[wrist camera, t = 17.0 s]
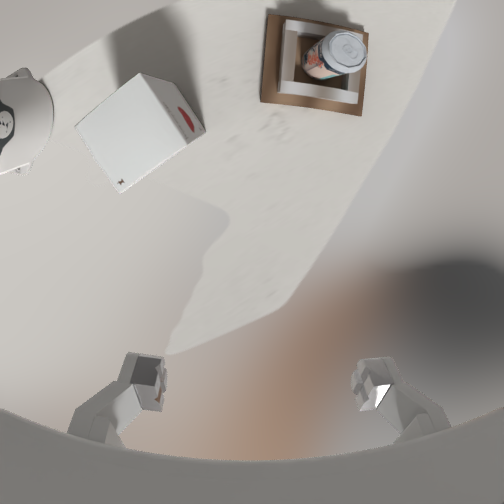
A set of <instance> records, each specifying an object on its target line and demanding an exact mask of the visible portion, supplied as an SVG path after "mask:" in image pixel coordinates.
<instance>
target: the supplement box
mask: <svg viewBox="0 0 504 504" xmlns="http://www.w3.org/2000/svg"><path fill="white" fill-rule="evenodd" d="M75 129H76V131H77V133H78V134H79V136H80V137H81V139H82V140H83V142H84V143H85V145H86V146H87V148H88V150H89V151H90V153H91V154H92V157H93V159H94V160H95V162H96V163H97V164H98V165H99V166H100V168H101V169H102V171H103V172H104V173H105V175H106V176H107V178H108V179H109V181H110V182H111V184H112V185H113V187H114V188H115V189H116V191H117V192H118V193H119V194H121V193H122V192H124V191H125V190H127V189H128V188H129V187H131V186H132V185H134V184H135V183H137V182H138V181H139V180H141V179H142V178H144V177H145V176H147V175H148V174H149V173H151V172H152V171H154V170H155V169H156V168H158V167H159V166H161V165H162V164H164V163H165V162H166V161H168V160H169V159H171V158H172V157H174V156H175V155H176V154H178V153H179V152H181V151H182V150H183V149H185V148H186V147H187V146H189V145H190V144H192V143H193V142H194V141H196V140H197V139H198V138H200V137H201V136H202V135H204V134H205V133H206V131H205V129H204V128H203V126H202V125H201V123H200V121H199V120H198V118H197V117H196V115H195V114H194V112H193V111H192V109H191V108H190V106H189V104H188V103H187V101H186V100H185V98H184V97H183V95H182V94H181V92H180V91H179V89H178V88H177V86H176V85H175V84H174V83H171V82H169V81H165V80H162V79H159V78H156V77H153V76H149V75H146V74H143V73H138V74H137V75H136V76H134V77H133V78H132V79H130V80H129V81H128V82H126V83H125V84H124V85H122V86H121V87H120V88H119V89H118V90H116V91H115V92H114V93H113V94H111V95H110V96H109V97H108V98H107V99H105V100H104V101H103V102H102V103H101V104H99V105H98V106H97V107H96V108H95V109H93V110H92V111H91V112H90V113H89V114H88V115H86V116H85V117H84V118H83V119H82V120H81V121H80V122H79V123H78V124H76V125H75Z"/></svg>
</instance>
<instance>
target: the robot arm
mask: <svg viewBox="0 0 504 504" xmlns="http://www.w3.org/2000/svg"><path fill="white" fill-rule="evenodd" d="M52 125H53V105H52V100H51V97H50V95H49V93H48V91H47V89H46V88H45V87H44V85H42V84H41V83H40V82H38V81H37V80H35V79H34V78H33V76H32V75H31V72H30V71H29V70H28V68H21V69H19V70H17V71H16V72H14V73H13V74H11V75H10V76H8V77H7V78H3V79H0V175H1V174H4V173H6V172H7V173H13V174H18V175H26V174H28V173H29V172H30V170H31V168H32V165H33V162H34V160H35V158H36V157H37V156H38V155H39V154H40V153H41V151H42V150H43V149H44V147H45V145H46V144H47V142H48V139H49V137H50V134H51V130H52ZM164 365H165V360H164V357H161V356H153V355H146V354H139V353H132V352H128V353H127V355H126V357H125V360H124V363H123V365H122V368H121V371H120V374H119V377H118V380H117V381H113V382H112V383H111V384H109V385H108V386H106V387H105V388H104V389H102V390H101V391H100V392H98V393H97V394H96V395H94V396H93V397H92V398H90V399H89V400H87V401H86V402H85V403H83V404H82V405H81V406H79V407H78V408H77V409H76V410H75V412H74V415H73V417H72V420H71V423H70V426H69V428H68V431H67V433H64V432H61V431H58V430H55V429H52V428H50V427H47V426H44V425H41V424H39V423H36V422H33V421H31V420H28V419H26V418H23V417H21V416H18V415H16V414H14V413H11V412H9V411H7V410H4V409H0V504H504V407H501V408H498V409H496V410H493V411H491V412H489V413H487V414H485V415H482V416H480V417H477V418H475V419H472V420H470V421H467V422H464V423H462V424H459V425H456V426H454V427H451V425H450V423H449V421H448V418H447V416H446V414H445V412H444V410H443V408H442V407H441V406H440V405H438V404H437V403H435V402H434V401H432V400H431V399H430V398H428V397H427V396H425V395H424V394H423V393H421V392H420V391H418V390H417V389H416V388H414V387H413V386H411V385H410V384H409V383H404V381H403V379H402V377H401V375H400V372H399V370H398V368H397V366H396V364H395V362H394V360H393V358H392V357H382V358H371V359H360V360H359V361H358V363H357V368H358V369H357V370H355V371H354V372H353V374H352V377H351V387H352V390H353V392H354V393H355V394H356V395H357V397H356V399H355V400H356V403H357V406H358V409H359V411H366V410H374V409H376V411H377V412H378V413H379V414H380V415H381V416H382V417H384V419H385V420H386V421H387V422H388V423H389V424H390V425H391V426H392V427H393V428H394V429H395V430H396V431H397V432H398V433H400V436H399V437H398V438H397V439H396V440H395V442H394V443H393V444H392V445H387V446H383V447H378V448H374V449H368V450H363V451H357V452H352V453H345V454H339V455H330V456H322V457H314V458H302V459H287V460H261V461H239V460H212V459H198V458H187V457H177V456H169V455H162V454H154V453H149V452H142V451H137V450H132V449H127V448H126V447H125V446H124V444H123V442H122V441H121V439H120V437H119V436H118V435H119V434H120V433H121V432H122V431H123V430H124V429H125V428H126V427H127V426H128V425H129V424H130V423H131V422H132V421H133V420H134V419H135V417H137V416H138V414H139V413H140V412H141V411H142V409H143V410H151V411H159V412H162V407H163V403H164V396H163V393H164V392H165V391H166V387H167V370H166V369H165V368H164Z"/></svg>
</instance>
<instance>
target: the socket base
mask: <svg viewBox="0 0 504 504" xmlns="http://www.w3.org/2000/svg"><path fill="white" fill-rule="evenodd" d="M338 30H344V31H348V32H351V33H353V34H355V35H356V36H358V37H359V38H360V39H361V40H362V42H363V44H364V45H365V47H366V51H367V53H368V35H369V33H366V32H363V31H359V30H355V29H351V28H347V27H343V26H339V25H334V24H329V23H324V22H319V21H314V20H308V19H302V18H296V17H288V16H281V15H272V14H269V15H268V19H267V31H266V42H265V54H264V66H263V78H262V89H261V101H260V102H263V103H274V104H283V105H292V106H300V107H308V108H315V109H321V110H328V111H334V112H339V113H345V114H350V115H355V116H362V108H363V99H364V89H365V78H366V66H367V59H366V63H365V64H364V66H363V67H362V68H361V69H360V70H358V71H356V72H353V73H346V74H342V75H339V76H335V77H331V78H328V79H326V80H316V79H313V78H311V77H310V76H308V75H307V74H306V73H305V71H304V70H303V68H302V62H301V61H302V56H303V55H304V53H305V52H306V51H307V50H308V49H310V48H311V47H312V46H314V45H315V44H316V43H318V42H319V41H320V40H321V39H323V38H324V37H325V36H327V35H328V34H329V33H331V32H333V31H338Z"/></svg>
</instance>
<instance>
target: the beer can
mask: <svg viewBox="0 0 504 504" xmlns="http://www.w3.org/2000/svg"><path fill="white" fill-rule="evenodd" d="M366 59H367V51H366V47H365V45H364V44H363V42H362V40H361V39H360V38H359V37H358V36H356V35H355V34H353V33H351V32H348V31H344V30H338V31H333V32H331V33H329V34H328V35H327V36H325V37H324V38H323V39H321V40H320V41H319V42H318V43H316V44H315V45H314V46H312V47H311V48H310V49H308V50H307V51H306V52H305V53H304V55H303V56H302V61H301V62H302V68H303V70H304V71H305V73H306V74H307V75H308V76H310V77H311V78H313V79H316V80H326V79H328V78H331V77H335V76H339V75H342V74H346V73H353V72H356V71H358V70H360V69H361V68H362V67H363V66H364V64H365V63H366Z"/></svg>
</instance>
